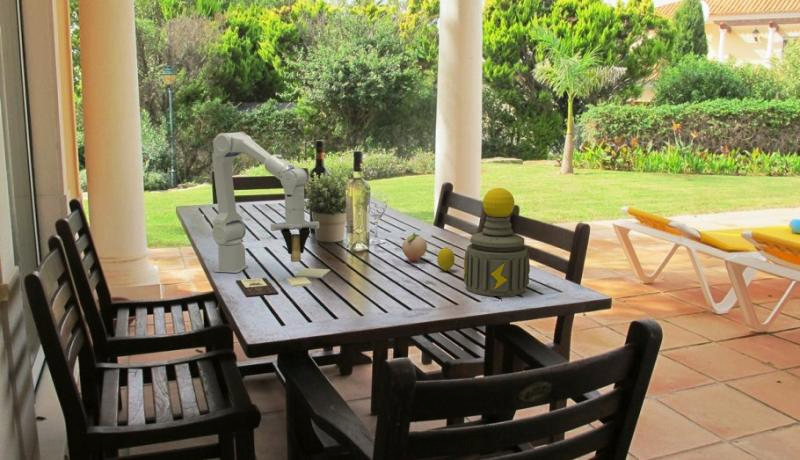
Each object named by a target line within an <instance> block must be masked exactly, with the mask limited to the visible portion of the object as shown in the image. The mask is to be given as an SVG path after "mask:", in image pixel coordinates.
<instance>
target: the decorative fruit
mask: <svg viewBox="0 0 800 460" xmlns="http://www.w3.org/2000/svg"><path fill="white" fill-rule="evenodd" d="M427 244H428V243H427V241H426V240H425V238H423V237H422V236H420V235H419V234H416V233H415V232H413V234H412V235H409V236H407V237H406V238H405V239H404V241H403V242H402V245H401V249H402V252H403V254H404V256H405V257H406V258H407V259H408V260H409V261H410V262H411V261H412V262H415V261H416V260H418V259H421V258H422V257H424V256H425V254H426V252H427V249H428V245H427Z"/></svg>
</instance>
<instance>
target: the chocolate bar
mask: <svg viewBox="0 0 800 460" xmlns="http://www.w3.org/2000/svg"><path fill="white" fill-rule="evenodd" d="M235 283H236V284H237V286H238V288H239V289H240V291H241V292H242V293H243V294H244V296H245V298H256V297H265V296H264V295H268V296H276V295H277V296H278V295H279V292H278V291H277V290H278V289H276V288H275V287H274V286H273V284H272V283H271V282H270V281H269V279H267V277H259V278H248V279H247V278H246V279H236V280H235Z"/></svg>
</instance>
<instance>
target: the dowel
mask: <svg viewBox="0 0 800 460" xmlns="http://www.w3.org/2000/svg"><path fill="white" fill-rule="evenodd" d="M300 238H301V235H300V234H299V233H292V235H291V249H292V254H290V262H292V263H298V262H299V263H300V262H301V261H302V260H301V258H302V257H301V256H302V253H301V243H300Z"/></svg>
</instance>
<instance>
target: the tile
mask: <svg viewBox="0 0 800 460" xmlns="http://www.w3.org/2000/svg"><path fill="white" fill-rule="evenodd" d="M285 281H286V283H287V284H288V283H289V284H290V285H291V286H290V285H289V284H288V285H289V286H290V288H298V287H297V286H301V287H309V286H308V285H313V284H312V282H311V281H310V280H309V278H308V277H288V278H285Z"/></svg>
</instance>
